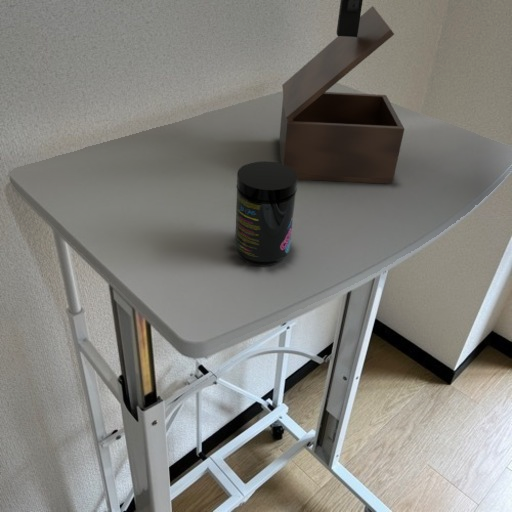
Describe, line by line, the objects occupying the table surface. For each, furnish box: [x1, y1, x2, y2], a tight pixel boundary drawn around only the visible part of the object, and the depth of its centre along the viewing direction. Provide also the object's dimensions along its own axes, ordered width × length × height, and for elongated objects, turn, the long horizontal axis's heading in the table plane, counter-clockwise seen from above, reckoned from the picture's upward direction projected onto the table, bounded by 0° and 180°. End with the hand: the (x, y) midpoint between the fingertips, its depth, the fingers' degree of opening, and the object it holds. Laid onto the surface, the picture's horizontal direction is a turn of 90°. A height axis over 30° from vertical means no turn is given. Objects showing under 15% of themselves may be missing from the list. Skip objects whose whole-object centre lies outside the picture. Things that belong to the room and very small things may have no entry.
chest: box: [278, 91, 405, 185], centre depth 85 cm, size 17×14×9 cm
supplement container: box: [234, 160, 299, 267], centre depth 64 cm, size 7×7×10 cm
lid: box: [281, 5, 395, 122], centre depth 79 cm, size 18×14×1 cm
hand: (346, 34), depth 77 cm, fingers closed
